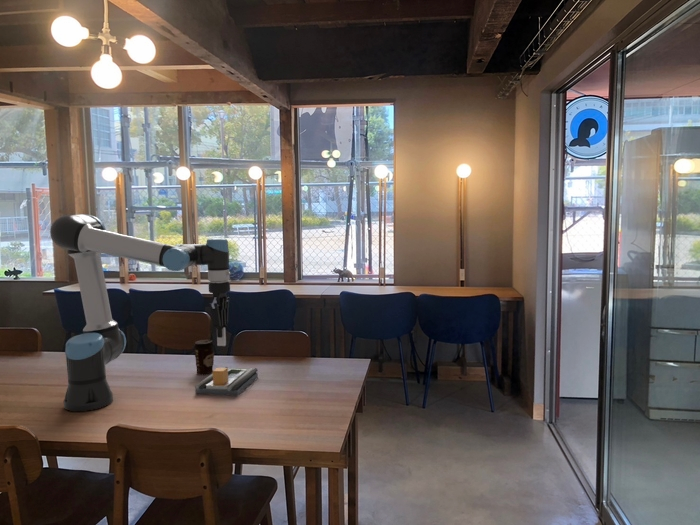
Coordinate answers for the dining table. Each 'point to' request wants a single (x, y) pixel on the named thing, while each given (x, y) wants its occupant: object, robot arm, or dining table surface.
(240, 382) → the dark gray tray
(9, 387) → the dining table surface
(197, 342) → the coffee cup
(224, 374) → the tan rectangular block
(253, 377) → the panel
